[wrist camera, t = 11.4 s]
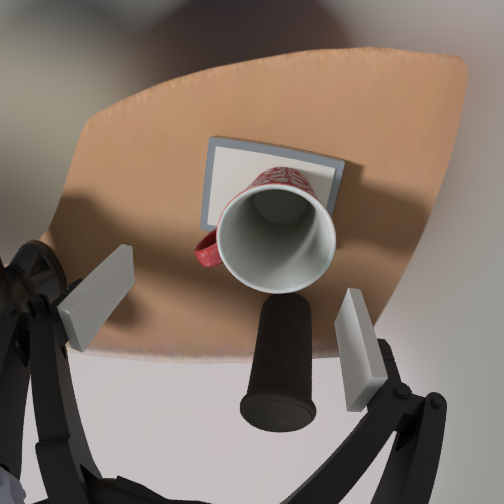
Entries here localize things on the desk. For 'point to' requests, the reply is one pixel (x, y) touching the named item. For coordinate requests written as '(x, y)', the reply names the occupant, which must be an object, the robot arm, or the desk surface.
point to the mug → (273, 234)
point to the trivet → (256, 162)
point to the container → (281, 367)
